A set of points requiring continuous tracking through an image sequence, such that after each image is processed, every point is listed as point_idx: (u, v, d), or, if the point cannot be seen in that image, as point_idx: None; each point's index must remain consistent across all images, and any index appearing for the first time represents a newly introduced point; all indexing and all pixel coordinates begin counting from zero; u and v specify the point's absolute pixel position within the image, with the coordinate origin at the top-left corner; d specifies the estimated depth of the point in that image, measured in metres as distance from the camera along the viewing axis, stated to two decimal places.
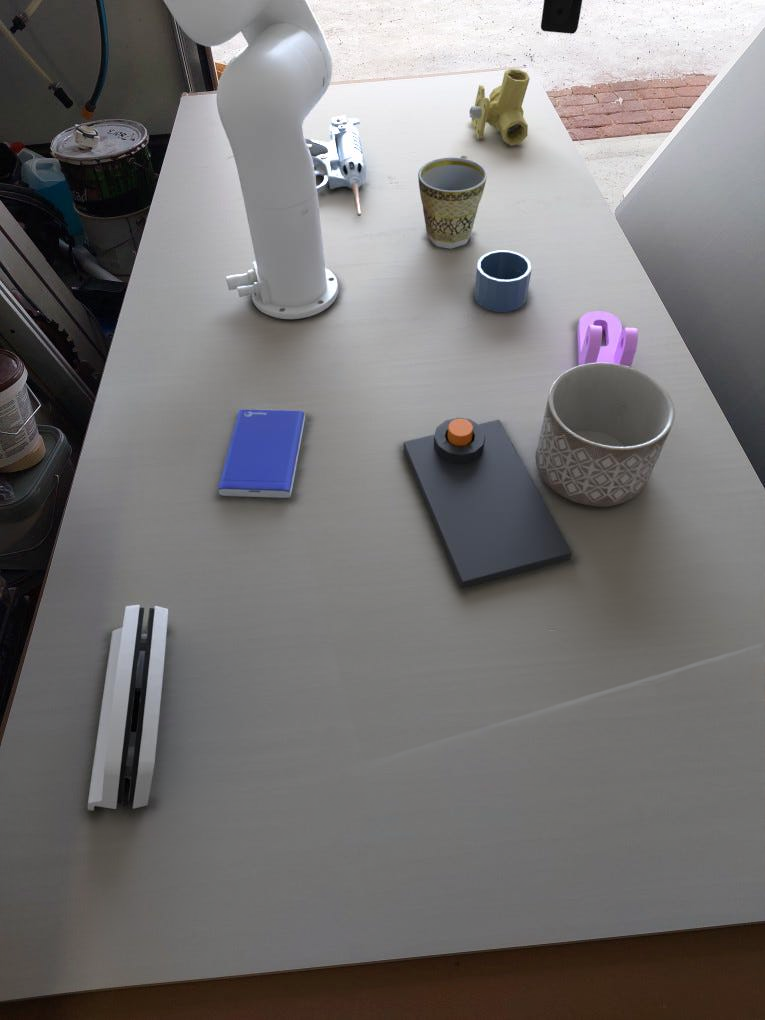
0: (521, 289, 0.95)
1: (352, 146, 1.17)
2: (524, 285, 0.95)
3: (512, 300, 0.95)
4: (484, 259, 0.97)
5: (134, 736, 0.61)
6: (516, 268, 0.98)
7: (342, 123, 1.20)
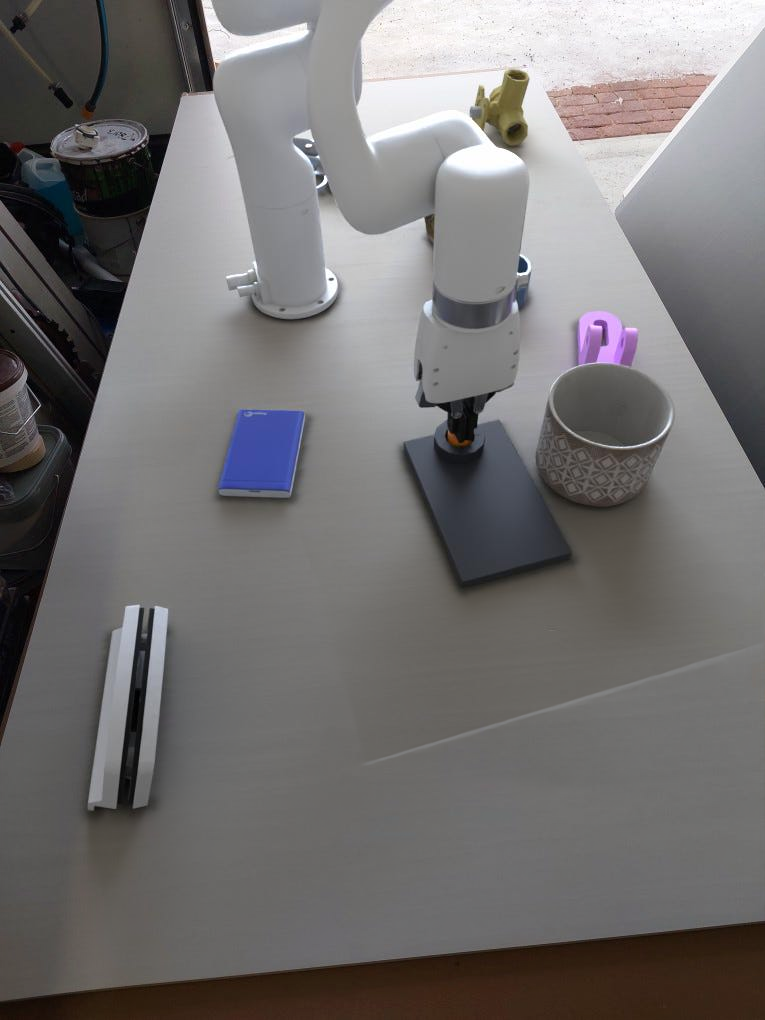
0: (521, 289, 0.95)
1: None
2: None
3: None
4: None
5: (134, 736, 0.61)
6: None
7: None
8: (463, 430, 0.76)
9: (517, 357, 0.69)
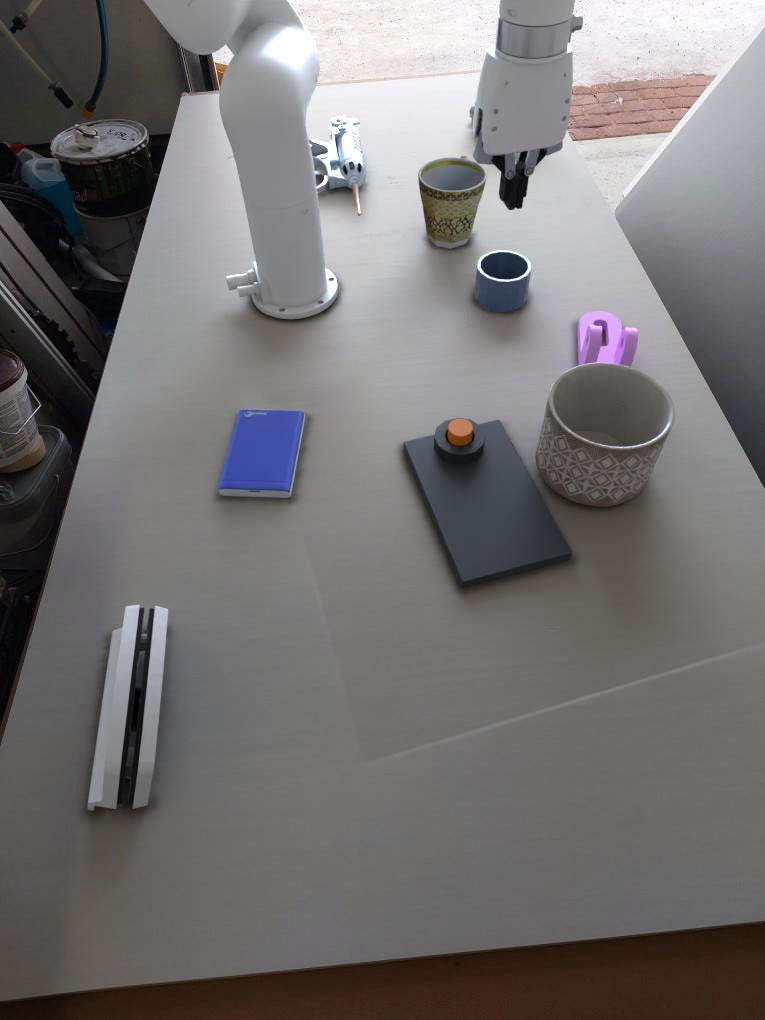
0: (521, 289, 0.95)
1: (352, 146, 1.17)
2: (524, 285, 0.95)
3: (512, 300, 0.95)
4: (484, 259, 0.97)
5: (134, 736, 0.61)
6: (516, 268, 0.98)
7: (342, 123, 1.20)
8: (514, 194, 0.83)
9: (568, 107, 0.76)
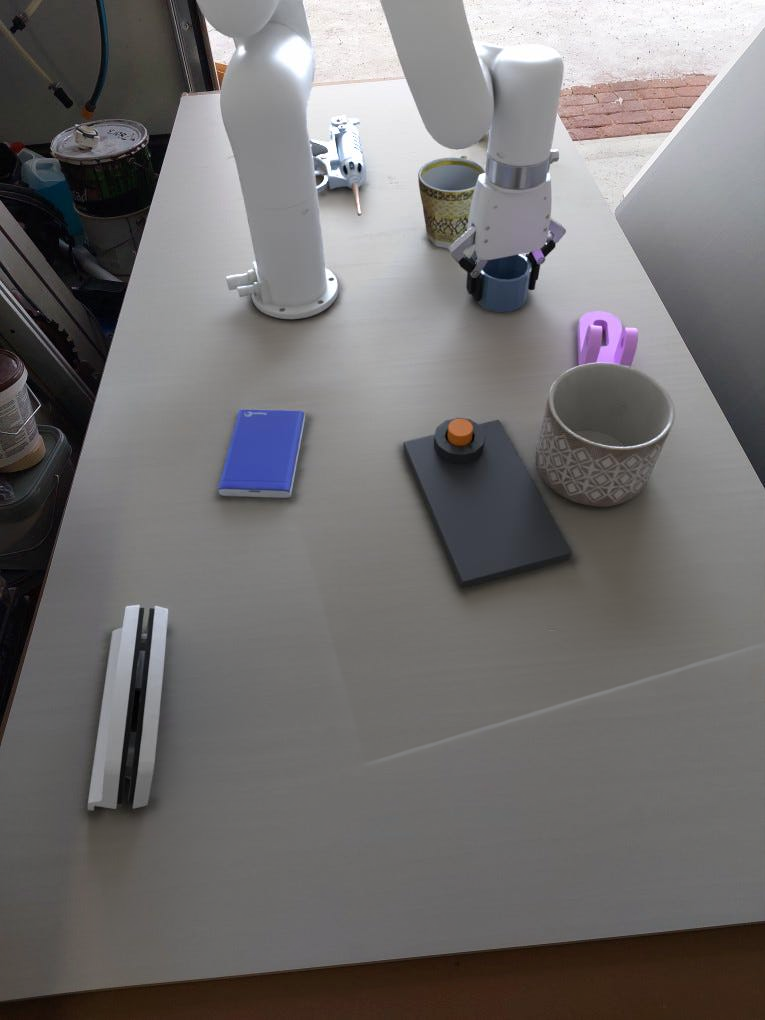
0: (521, 289, 0.95)
1: (352, 146, 1.17)
2: (524, 285, 0.95)
3: (512, 300, 0.95)
4: None
5: (134, 736, 0.61)
6: (516, 268, 0.98)
7: (342, 123, 1.20)
8: (479, 289, 0.95)
9: (548, 221, 0.89)
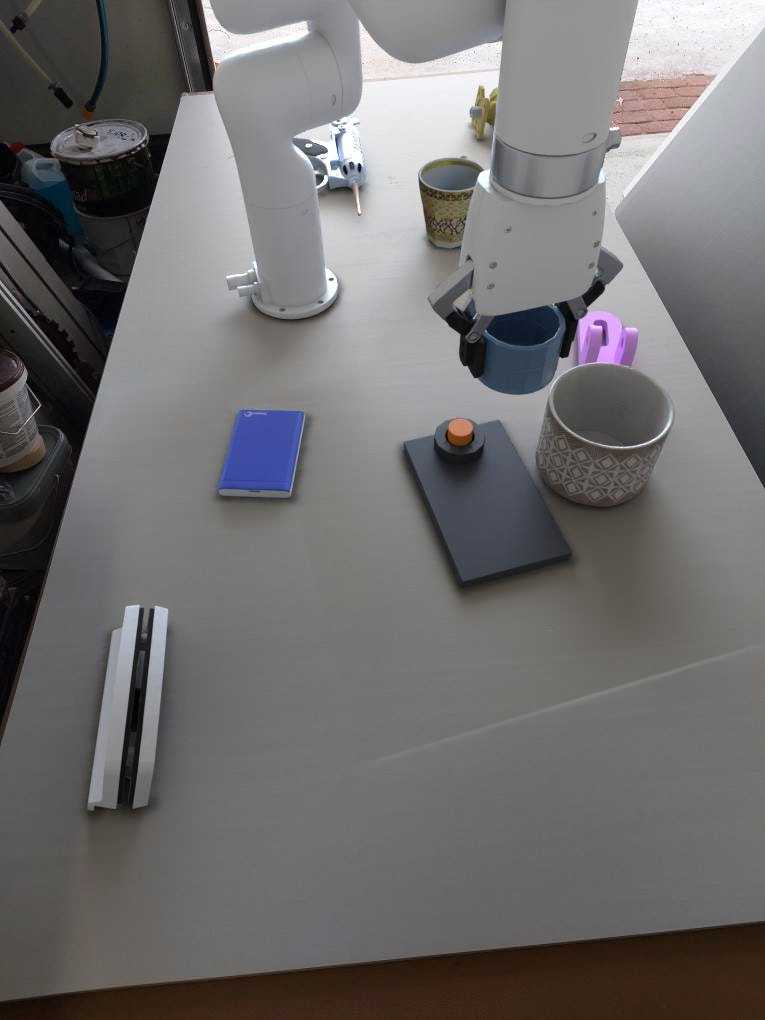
0: (549, 360, 0.58)
1: (352, 146, 1.17)
2: (554, 354, 0.58)
3: (534, 377, 0.59)
4: None
5: (134, 736, 0.61)
6: (538, 322, 0.61)
7: (342, 123, 1.20)
8: (480, 360, 0.58)
9: (597, 252, 0.52)
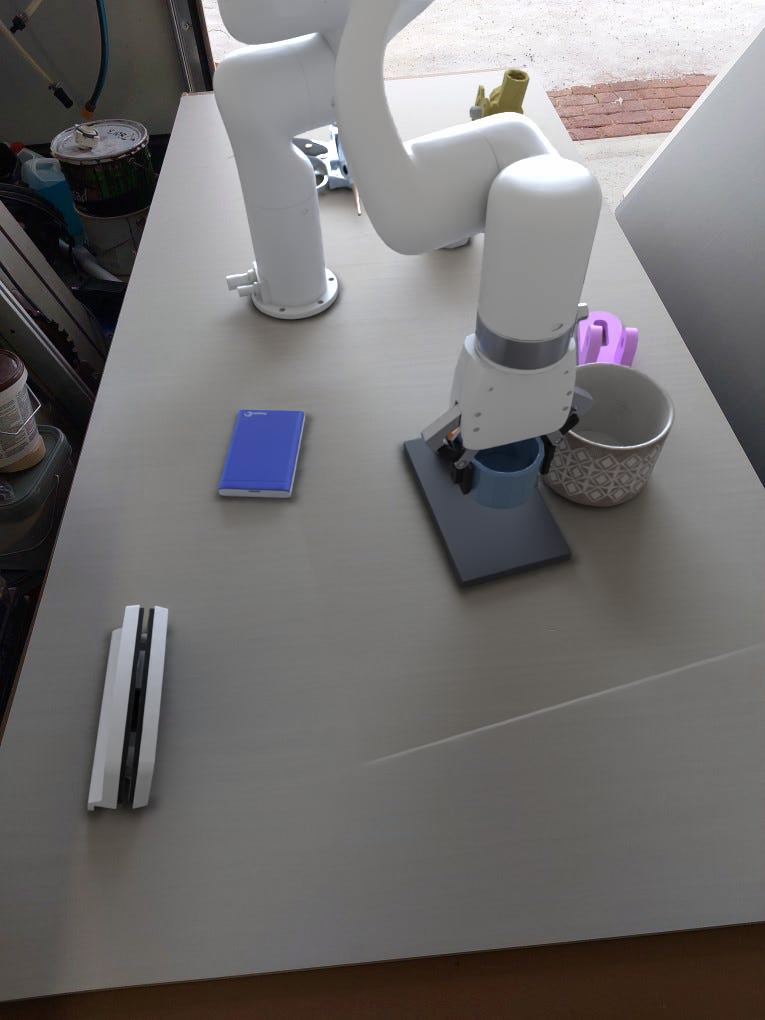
0: (530, 482, 0.65)
1: None
2: (534, 476, 0.65)
3: (517, 496, 0.66)
4: None
5: (134, 736, 0.61)
6: (521, 442, 0.69)
7: None
8: (468, 481, 0.65)
9: (570, 398, 0.59)
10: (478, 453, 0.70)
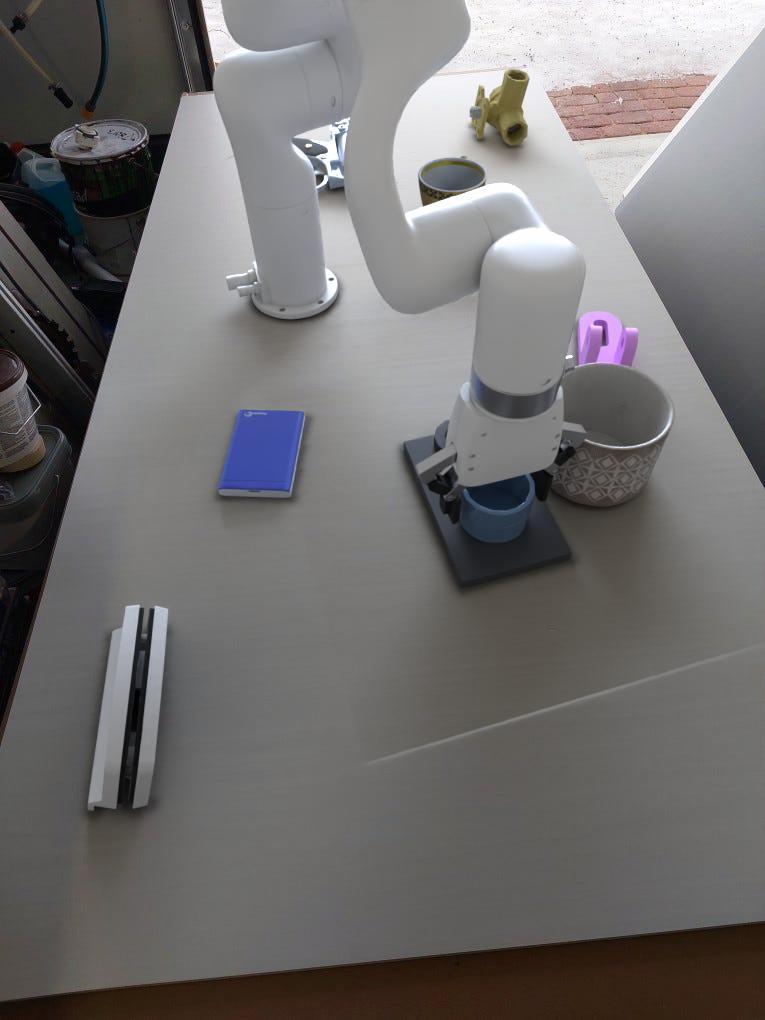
0: (521, 519, 0.70)
1: None
2: (525, 513, 0.70)
3: (509, 531, 0.70)
4: None
5: (134, 736, 0.61)
6: (514, 479, 0.73)
7: (342, 123, 1.20)
8: (457, 512, 0.69)
9: (558, 440, 0.64)
10: (473, 489, 0.74)
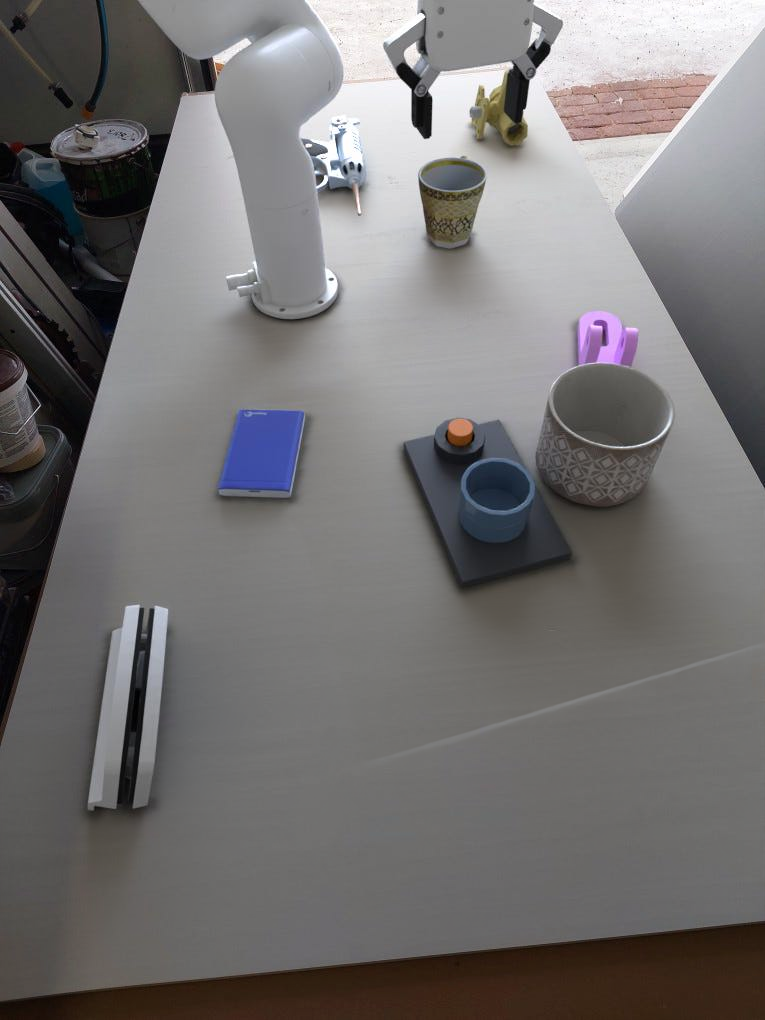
0: (521, 519, 0.70)
1: (352, 146, 1.17)
2: (525, 513, 0.70)
3: (509, 531, 0.70)
4: (471, 472, 0.72)
5: (134, 736, 0.61)
6: (514, 479, 0.73)
7: (342, 123, 1.20)
8: (428, 117, 0.67)
9: (531, 7, 0.62)
10: (473, 489, 0.74)
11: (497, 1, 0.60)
